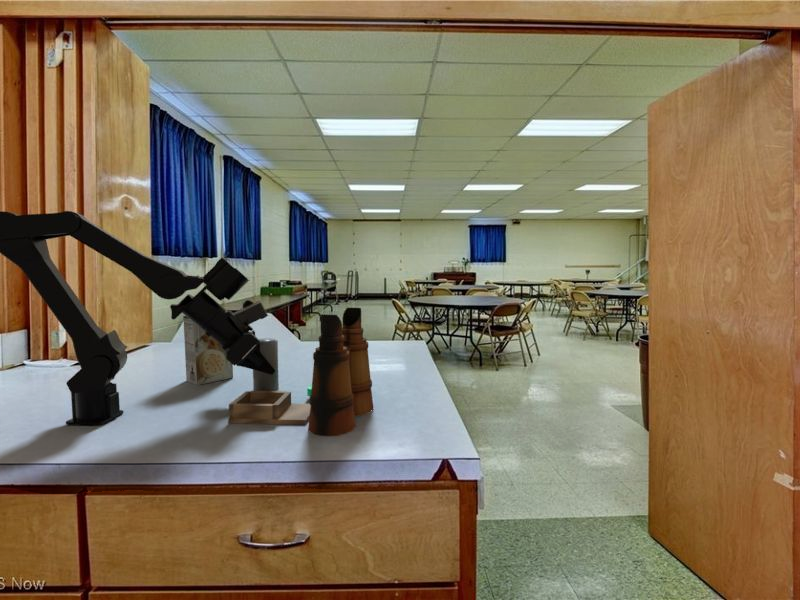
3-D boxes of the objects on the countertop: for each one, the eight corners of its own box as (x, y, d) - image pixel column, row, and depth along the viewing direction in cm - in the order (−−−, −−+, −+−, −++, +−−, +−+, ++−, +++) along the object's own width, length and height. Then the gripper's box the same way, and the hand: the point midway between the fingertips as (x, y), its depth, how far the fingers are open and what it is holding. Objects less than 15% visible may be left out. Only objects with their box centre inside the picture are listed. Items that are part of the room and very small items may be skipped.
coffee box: (221, 373, 113) (220, 312, 112) (233, 378, 109) (232, 314, 108) (185, 380, 106) (182, 315, 105) (196, 385, 102) (193, 317, 101)
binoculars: (341, 400, 92) (341, 305, 90) (379, 404, 89) (379, 306, 88) (299, 433, 74) (297, 315, 72) (344, 438, 72) (343, 317, 70)
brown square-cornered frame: (228, 423, 78) (227, 405, 78) (247, 406, 87) (246, 390, 87) (305, 424, 78) (305, 406, 78) (316, 407, 87) (316, 391, 87)
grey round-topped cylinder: (249, 404, 89) (248, 342, 88) (258, 396, 94) (257, 337, 93) (274, 404, 89) (273, 342, 88) (282, 397, 94) (281, 338, 93)
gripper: (244, 290, 79) (306, 346, 84) (239, 285, 96) (291, 332, 101) (197, 336, 77) (265, 391, 82) (201, 323, 94) (257, 368, 99)
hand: (271, 367), depth 91 cm, fingers open, 9 cm apart
